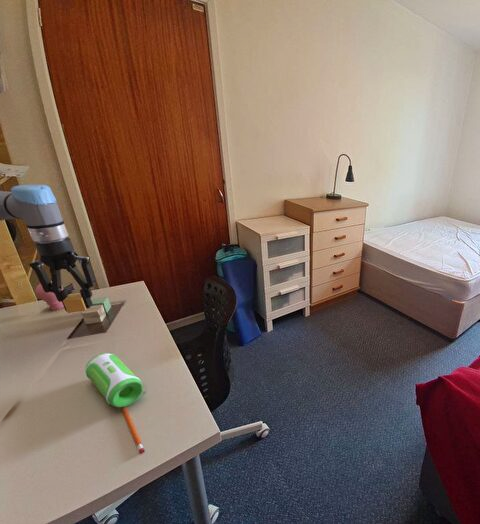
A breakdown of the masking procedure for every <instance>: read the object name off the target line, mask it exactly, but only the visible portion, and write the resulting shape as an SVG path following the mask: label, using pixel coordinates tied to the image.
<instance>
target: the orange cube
mask: <svg viewBox="0 0 480 524" xmlns="http://www.w3.org/2000/svg"><path fill="white" fill-rule="evenodd" d="M63 303H64V305H65V307H66V310H67V311H66V310H65V311H66V312H67V314H71V313H79V312H83V311H86V310H87V308H86V306H85V303H84V300H83V298H82V296H81V293H80V292H77V293H69V294H68V296H67V297H66V298H65V299H64V300H63Z"/></svg>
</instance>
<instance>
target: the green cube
mask: <svg viewBox="0 0 480 524" xmlns="http://www.w3.org/2000/svg"><path fill="white" fill-rule="evenodd" d="M91 301H92V303H93V304H92V306H97V305H103V308H104V311H105V313H107V312H108V311H109V309H110V308H111V305H112V304H111V302H110V300H109V297H108V296H104V297H97V298H91Z"/></svg>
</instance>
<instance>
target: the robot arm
mask: <svg viewBox="0 0 480 524" xmlns="http://www.w3.org/2000/svg"><path fill="white" fill-rule="evenodd" d="M5 220H23V222H24V223H25V226H26V228H27V230H28V233H29V235H30V237H31V239H32V241H33V242H34V247H35V249H36V251H37V254H38V255H39V259H38V260H33V261H32V262H30V263H29V264H28V266H29V267H30V268H31V269H32V270H33V271H34V273H35V275H36V277H37V279H38V281H39V284H40V283H41V285H42V287H43V290H44V291H45V292H46V293H48V292H53V293H54V294H55V296H56V298H57V300H58V301H59V302H62V303H63V300H64V299H65V298H66V297H67V296H68V295H69V294H68V291H67V289H66V288H65V289H64V287H63V285H62V272H61V271H62V270H66V272H67V273H69V274H70V275H71V276H72V277H73V279H74V280H75V282H76V283H77V284H78V286H79V287H80V288H81V289H79V293H81V296H82V298H83V300H84V303H85V306H86V308H90V307H91V306H92V304H93V303H92V297H93V292H92V289H91V288H93V287H94V286H95V285H96V284H97V280H96V278H95V275H94V272H93V269H92V266H91V264H90V263H91V256H90V255H85V256H83V255H79V254H78V253H77V252H76V251H75V248H74V245H73V243H72V240H71V238H70V237H69V236H70V234H69V231H68V229H67V226H66V224H65V222H64V219H63V216H62V214H61V211H60V208H59V206H58V202H57V199H56V197H55V195H54V193H53V191H52V189H51V187H50V186H48V185H47V184H21V185H15V186H12V187H11V188H10V191H3V190H0V222H1V221H5ZM77 261H78V263H79V264H80V266H81V269H82V272H83V273H82V272H81V271H80V268H79V265H77V264H76V262H77ZM45 266H47V267H48V268H49V273H48V272H47V269H46V267H45ZM49 274H50V276H49ZM50 277H51V278H50ZM51 281H52V282H51ZM62 288H63V290H61V289H62ZM63 306H64V307H63V308H64V310H65V312H67V310H66V307H65V305H64V303H63Z"/></svg>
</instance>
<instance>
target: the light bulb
mask: <svg viewBox="0 0 480 524" xmlns="http://www.w3.org/2000/svg"><path fill="white" fill-rule="evenodd" d="M51 282H52V280H51ZM61 290H64V287H63V288H62V289H61ZM34 293H35V296H36V297H37V298H38V299H40V300H42V301H44V303H46V305H47V306H49V309H50V311H51V310H52V311H58V310H61V309H63V308H64V306H63V303H62V302H59V301H58V300H57V298H56V296H55V294H54V293H53V292H48V293H46V292H45V291H44V290H43V287H42V285H41V283H40V282H39V284H38V285H36V286H35V290H34Z"/></svg>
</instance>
